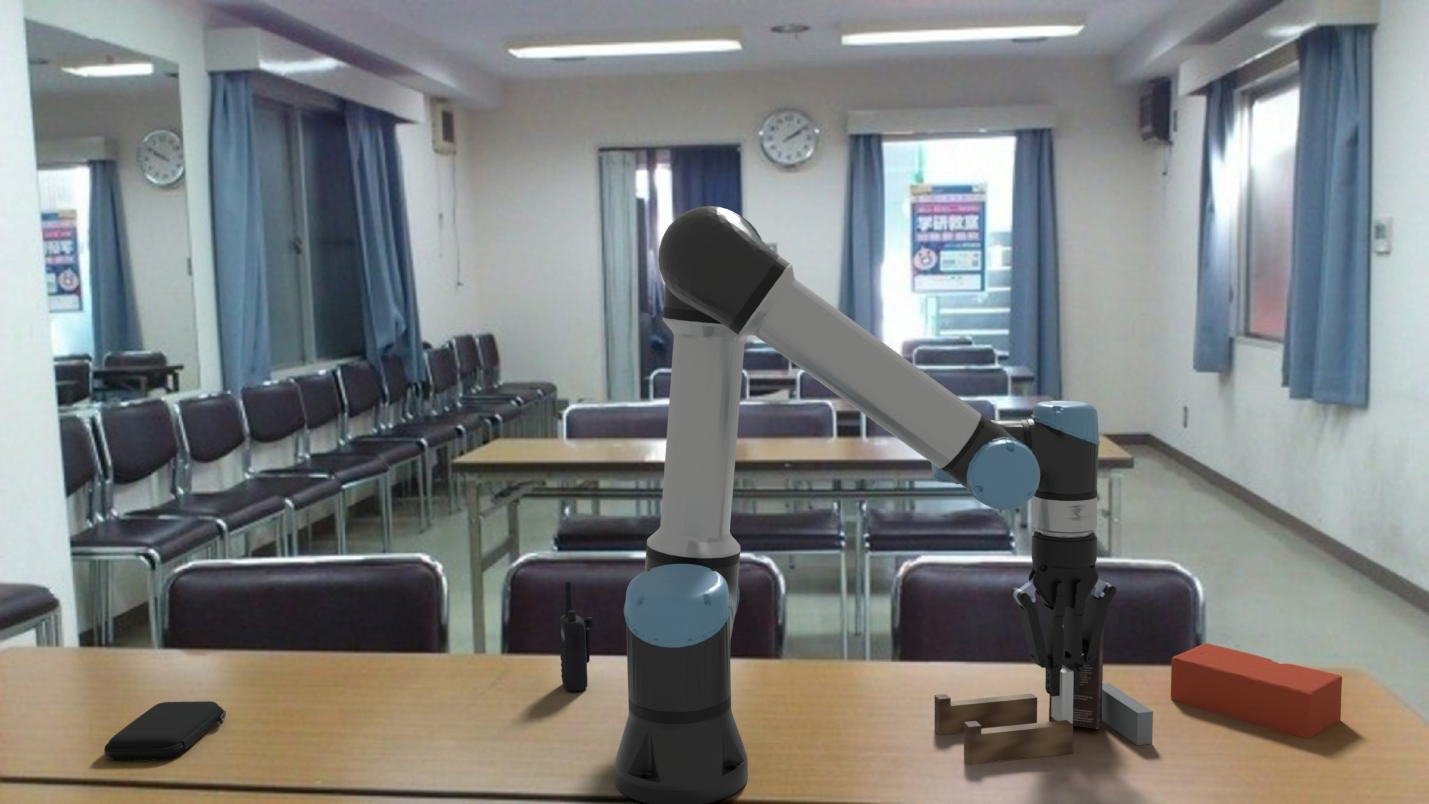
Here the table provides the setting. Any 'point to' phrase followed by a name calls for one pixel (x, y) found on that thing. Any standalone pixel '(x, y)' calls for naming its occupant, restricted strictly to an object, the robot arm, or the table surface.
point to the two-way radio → (574, 645)
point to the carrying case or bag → (164, 731)
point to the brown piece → (1002, 728)
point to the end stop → (1126, 715)
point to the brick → (1257, 689)
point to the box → (1088, 693)
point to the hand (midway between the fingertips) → (1061, 719)
